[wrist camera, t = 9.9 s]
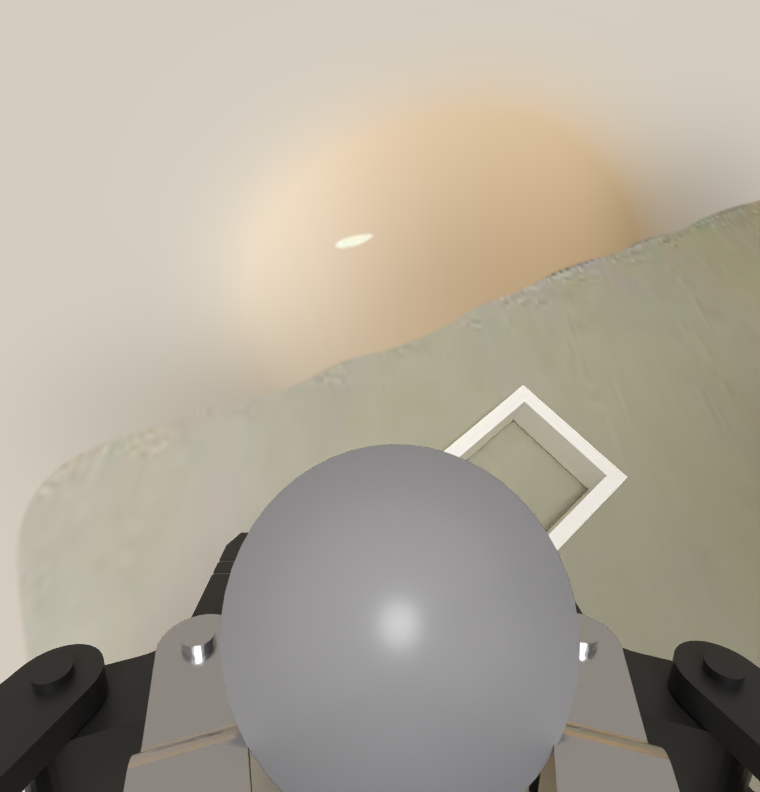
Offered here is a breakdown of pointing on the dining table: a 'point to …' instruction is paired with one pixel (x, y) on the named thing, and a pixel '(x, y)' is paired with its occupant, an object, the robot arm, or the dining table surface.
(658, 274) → the dining table surface
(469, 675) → the plug
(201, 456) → the dining table surface
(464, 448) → the collar
